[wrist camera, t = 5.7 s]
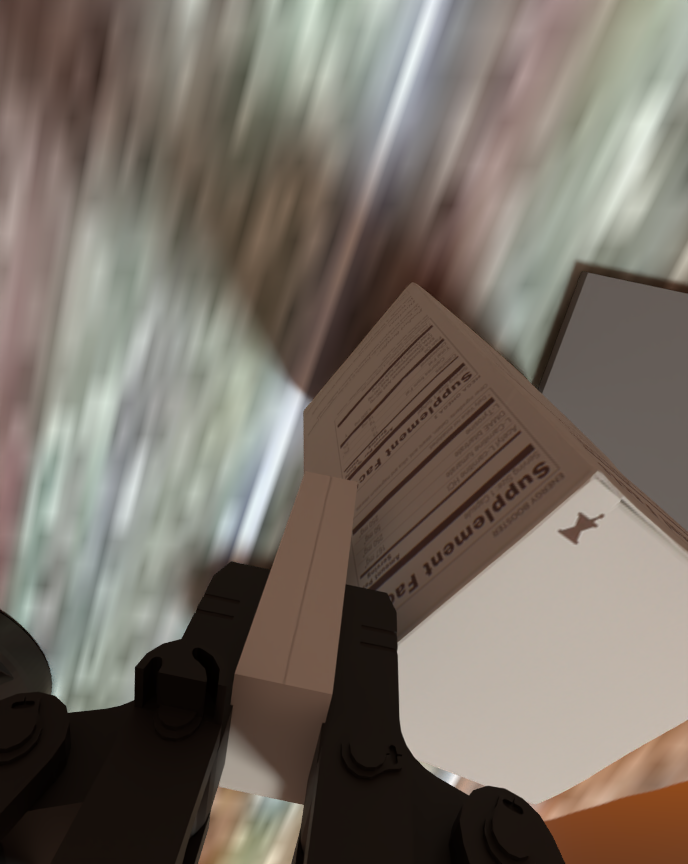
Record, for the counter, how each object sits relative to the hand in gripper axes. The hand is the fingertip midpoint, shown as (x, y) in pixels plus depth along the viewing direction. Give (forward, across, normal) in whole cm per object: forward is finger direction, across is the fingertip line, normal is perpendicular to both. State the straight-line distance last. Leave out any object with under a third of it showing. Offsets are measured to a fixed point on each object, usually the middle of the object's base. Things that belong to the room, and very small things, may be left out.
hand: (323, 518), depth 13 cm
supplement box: (+14, -4, 0) cm, 14 cm away
